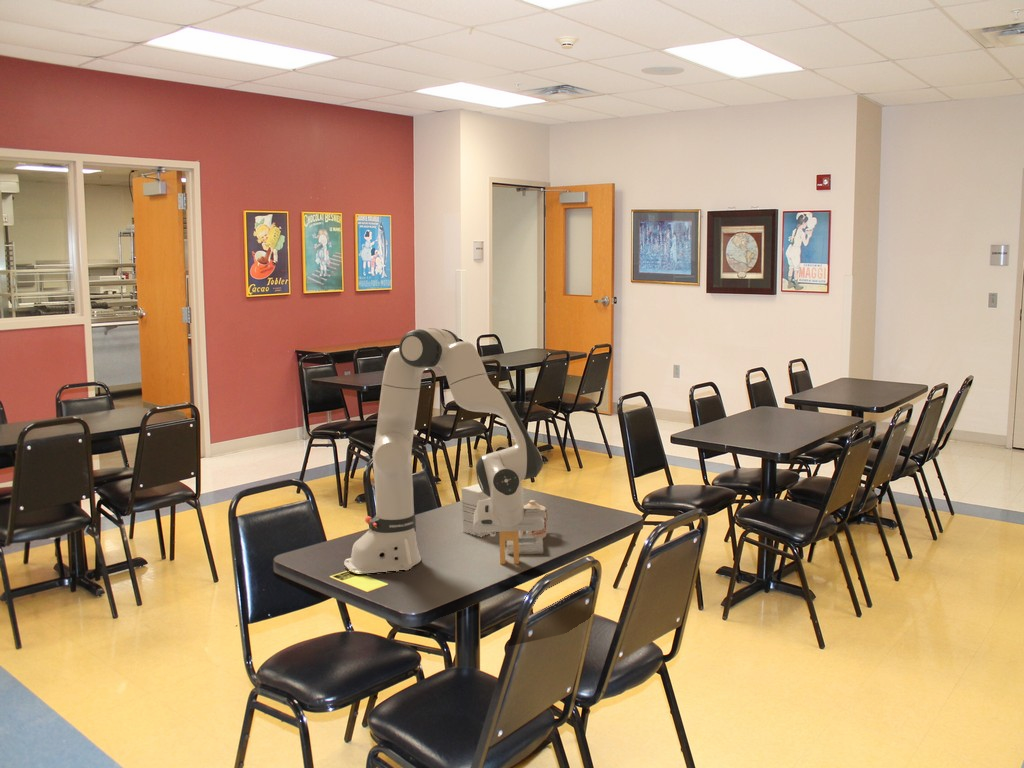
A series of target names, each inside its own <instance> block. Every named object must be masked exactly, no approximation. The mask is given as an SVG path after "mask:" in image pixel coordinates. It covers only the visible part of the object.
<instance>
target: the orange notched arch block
mask: <svg viewBox="0 0 1024 768" xmlns="http://www.w3.org/2000/svg"><path fill="white" fill-rule="evenodd" d="M498 533H499V564H500V565H506V542H507V541H513V544H514V554H513V565H514V564H515V565H519V564H520V554H519V537H520V534H519V531H498Z"/></svg>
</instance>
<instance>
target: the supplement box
mask: <svg viewBox="0 0 1024 768" xmlns="http://www.w3.org/2000/svg"><path fill="white" fill-rule="evenodd" d="M489 498H491V497H489V496H487V495H486V494H485V493H484V492H482V490H481V488H480V486H479V483H477V484H472V485H469V486H465V487H462V488H461V507H462V508H461V510H462V511H461V512H462V533H465V532H467V533H466V534H468V533H470V534H469V535H472V534H474V535H473V536H475V535H477V536H476V537H479V536H480V538H482V537H481V536H483V537H486V536H488V535H489V536H490V534H489V533H487V532H476V531H474V529H473V521H474V512H475V510H476V508H477V502H478V501H480V500H485V499H489ZM497 532H498V533H499V531H496V533H497ZM485 535H486V536H485Z"/></svg>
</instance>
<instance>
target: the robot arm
mask: <svg viewBox="0 0 1024 768" xmlns="http://www.w3.org/2000/svg"><path fill="white" fill-rule="evenodd" d="M429 368H430V369H431V368H440V369H441V370H442V371H443V372H444V374H445V376H446V380H447V383H448V387H449V390H450V393H451V396H452V397H453V400H454V402H455V404H456V405H458V406H459V407H460V408H461V409H464V410H465V411H469V412H475V413H487V414H488V413H489V414H494V415H497V416H499V417H500V418H501V419H502V420H503V422H504V423H505V425H506V427H507V429H508V431H509V433H510V435H511V436H512V439H513V440H514V442H515V444H514V445H512V446H509V447H507V448H503V449H499V450H497V451H493V452H489V453H487V454H483V455H481V456H480V457H479V458H478V460H477V462H476V464H475V471H476V478H477V484H479V486H480V488H481V490H482V492H484V493H485V494H486V495H487V496H489V497H491V498H489V499H485V500H480V501H478V502H477V508H476V510H475V512H474V521H473V529H474V531H476V532H487V533H489V536H490V537H496V533H497V532H496V531H498V532H499V531H518V532H520V531H523V536H526V535H527V536H528V533H530V532H531V531H536V530H542V529H544V517H545V511H544V510H541V509H539V508H524V506H525V503H524V489H523V488H524V487H523V483H522V481H523V480H524V481H525V480H529V479H533V478H537V477H538V475H539V474H540V472H541V471H542V469H543V466H544V462H543V457H542V455H541V452H540V451H539V449H538V447H537V446H536V444H535V443H534V442H533V440H532V438H531V436H530V435H529V432H528V431H527V429H526V427H525V425H524V423H523V421H522V419H521V417H520V416H519V413H518V412H517V409H516V408H515V407H514V405H513V402H512V401H511V399H510V398H509V396H508V395H507V393H506V392H505V391H504V390H502V389H498V388H496V386H494V385H493V383H492V381H491V380H490V379H489V376H488V373H487V370H486V368H485V365H484V363H483V361H482V357H481V356H480V354H479V352H478V351H477V349H476V347H475V346H474V344H473V343H471V342H469V341H460V338H459V337H458V336H457V335H456V334H455V333H454V332H453V331H450V330H447V329H444V328H443V329H442V328H433V327H432V328H431V327H430V328H426V329H425V328H424V329H420V328H418V329H413V330H411V331H408V332H407V333H406V334H404V335H403V336H402V338H401V340H400V342H399V347H396V348H394V349H392V350H391V351H390V352H389V354H388V357H387V359H386V363H385V365H384V370H383V374H382V375H383V376H382V382H381V388H380V389H381V390H380V396H379V405H378V414H377V424H376V431H375V439H374V441H375V442H374V446H373V448H372V449H373V450H372V467H373V468H372V469H373V479H374V481H373V482H374V492H375V493H374V495H375V513H376V514H375V515H374V516H373V518H372V517H371V516H369V515H367V516H366V517H364V520H365V522H366V524H368V525H369V529H368V530H367V531H366V532H365V533H364V534H362V536H360V537H359V539H357V540H355V542H354V543H353V545H352V549H351V553H350V554H351V555H350V557H349V558H346V559H345V560H344V561H343V563H344V564H343V566H344V565H345V566H346V567H347V568H348V569H349V570H351V571H354V572H357V573H375V572H386V573H388V572H387V571H396V572H400V571H399V570H405V571H409V569H410V570H412V568H413V567H414V566H415V565H417V564H419V563H421V560H422V558H421V554H420V551H419V547H418V543H417V535H416V532H417V518H416V513H415V506H414V504H415V503H414V483H413V482H414V481H413V465H412V463H413V460H412V450H413V449H412V448H413V442H414V434H415V428H416V427H415V426H416V420H417V413H418V405H419V398H420V391H421V383H422V377H423V373H424V371H425V370H426V369H429Z"/></svg>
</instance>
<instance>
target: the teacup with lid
mask: <svg viewBox="0 0 1024 768" xmlns="http://www.w3.org/2000/svg"><path fill="white" fill-rule="evenodd" d="M524 508H539V509H541V510H544V511H545V517H544V529H542V530H536V531H531V532H530V533H528V536H542V539H544V538H545V537H546V536H547V523H548V520H549V512H548V509H547V507H545V506H544V505H541V504H539V503H537V502H536V500H534V499H530V500H529V502H528V503H526V504H524ZM526 536H527V535H526ZM519 537H525V536H523V531H519Z"/></svg>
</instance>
